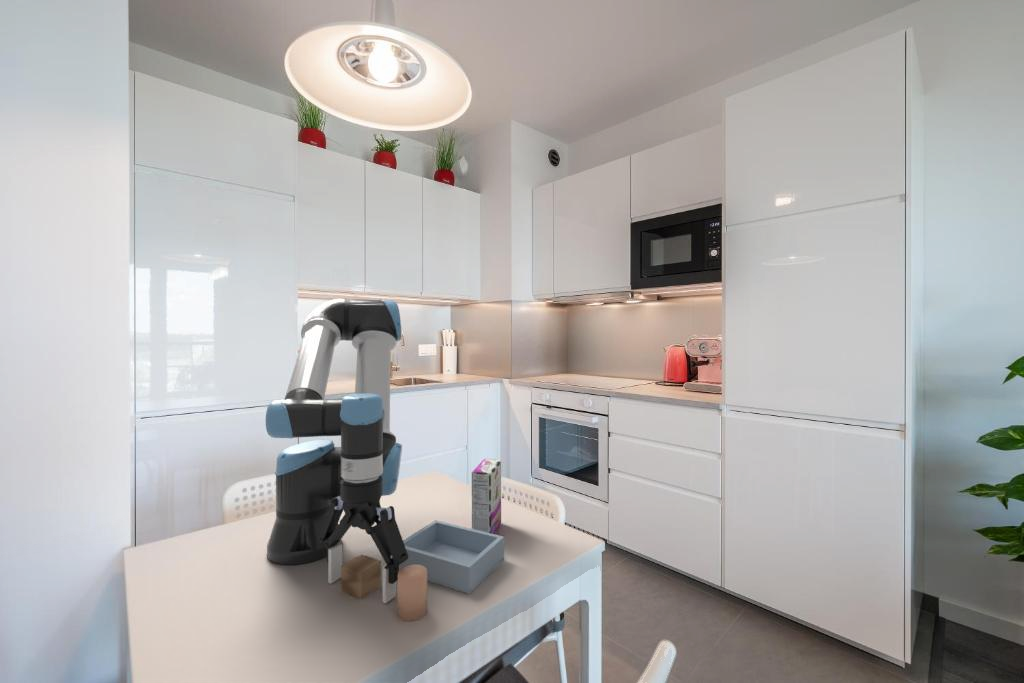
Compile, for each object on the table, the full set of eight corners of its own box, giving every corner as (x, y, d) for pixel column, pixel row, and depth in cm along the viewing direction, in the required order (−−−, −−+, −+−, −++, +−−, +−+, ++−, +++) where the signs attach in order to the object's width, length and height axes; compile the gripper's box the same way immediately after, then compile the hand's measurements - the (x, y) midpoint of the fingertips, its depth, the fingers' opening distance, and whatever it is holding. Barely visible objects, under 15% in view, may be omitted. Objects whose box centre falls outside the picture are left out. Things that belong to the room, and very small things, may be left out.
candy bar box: (482, 521, 114) (483, 458, 114) (501, 523, 113) (502, 459, 113) (470, 541, 103) (470, 471, 103) (490, 543, 102) (491, 472, 102)
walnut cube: (341, 592, 82) (341, 566, 82) (361, 579, 87) (361, 554, 87) (361, 600, 80) (361, 573, 80) (380, 586, 84) (380, 560, 84)
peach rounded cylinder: (391, 616, 75) (391, 575, 75) (410, 600, 80) (410, 562, 80) (414, 624, 73) (414, 583, 73) (432, 607, 78) (432, 568, 78)
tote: (394, 569, 90) (394, 545, 90) (435, 541, 102) (435, 520, 102) (469, 593, 82) (469, 567, 82) (503, 559, 94) (504, 536, 94)
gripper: (299, 472, 85) (298, 581, 85) (400, 494, 74) (399, 619, 74) (330, 463, 92) (330, 564, 92) (428, 481, 80) (427, 596, 81)
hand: (361, 589), depth 83 cm, fingers open, 13 cm apart
